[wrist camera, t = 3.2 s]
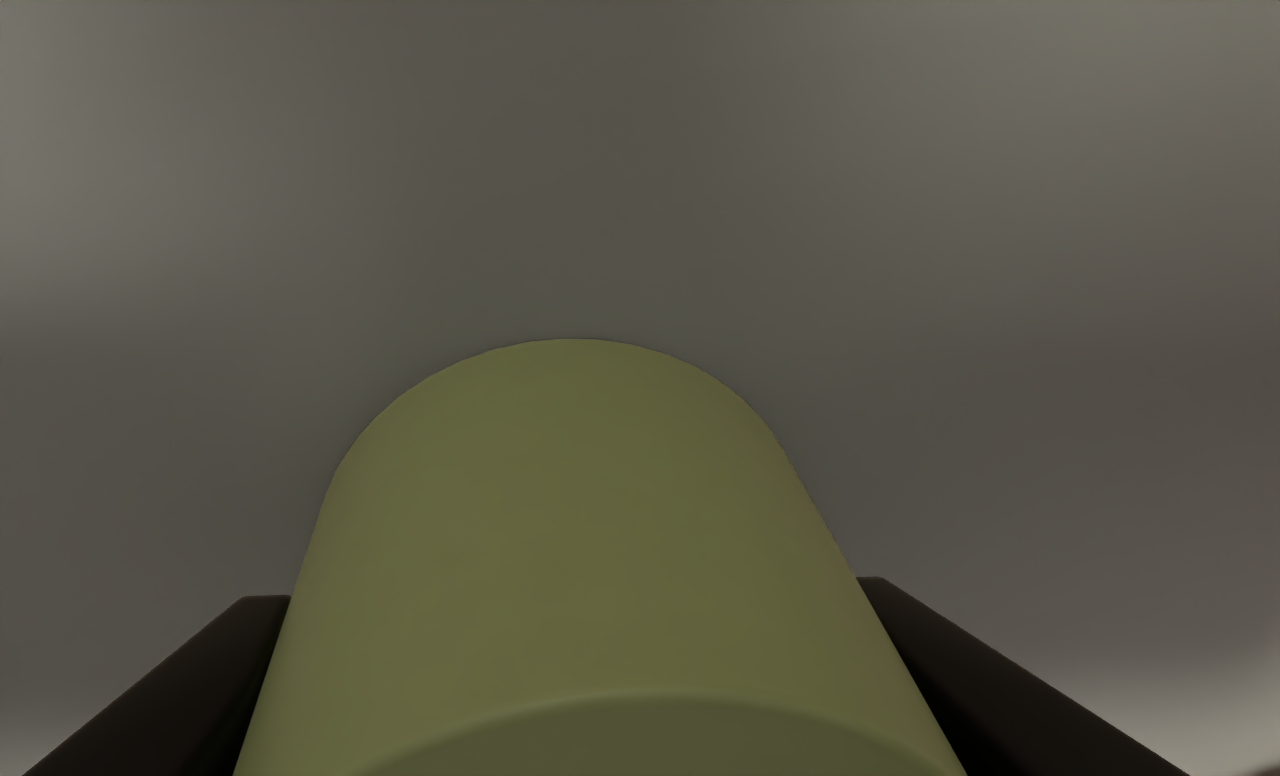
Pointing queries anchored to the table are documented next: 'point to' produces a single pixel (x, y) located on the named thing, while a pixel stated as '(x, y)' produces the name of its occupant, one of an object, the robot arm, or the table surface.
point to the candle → (580, 592)
